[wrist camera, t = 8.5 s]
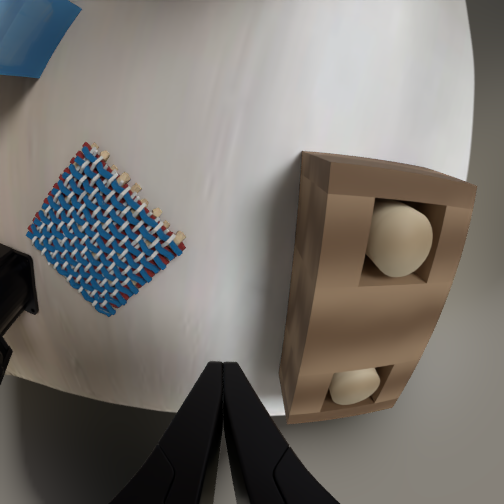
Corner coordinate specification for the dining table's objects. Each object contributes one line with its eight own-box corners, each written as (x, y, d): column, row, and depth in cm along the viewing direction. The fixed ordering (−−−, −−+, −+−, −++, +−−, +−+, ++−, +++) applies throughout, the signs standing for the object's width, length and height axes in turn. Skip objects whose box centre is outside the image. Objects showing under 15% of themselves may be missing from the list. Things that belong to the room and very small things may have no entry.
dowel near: (383, 239, 20) (422, 276, 15) (336, 238, 20) (367, 278, 15) (392, 189, 19) (438, 213, 13) (343, 183, 18) (381, 207, 13)
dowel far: (351, 355, 25) (371, 400, 20) (312, 359, 25) (326, 407, 20) (361, 323, 24) (386, 369, 18) (320, 326, 23) (338, 376, 18)
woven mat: (97, 132, 17) (83, 134, 15) (194, 237, 20) (190, 249, 18) (31, 226, 19) (18, 235, 17) (112, 311, 23) (104, 325, 21)
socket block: (372, 364, 26) (392, 407, 21) (278, 373, 26) (286, 424, 20) (425, 167, 18) (477, 186, 13) (302, 150, 18) (330, 161, 12)
